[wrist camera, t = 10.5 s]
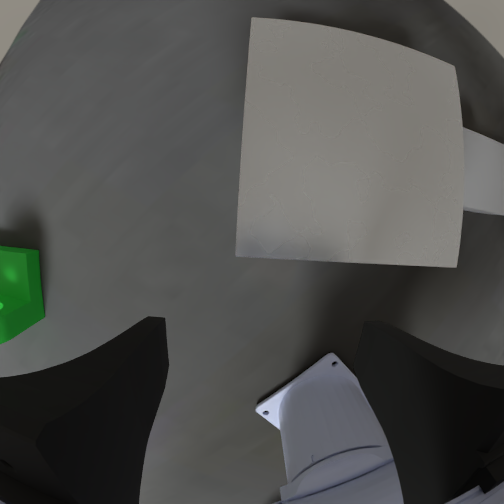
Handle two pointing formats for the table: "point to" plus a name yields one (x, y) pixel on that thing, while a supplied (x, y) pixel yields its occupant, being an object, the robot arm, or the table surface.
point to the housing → (348, 150)
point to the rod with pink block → (483, 174)
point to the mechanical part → (19, 291)
